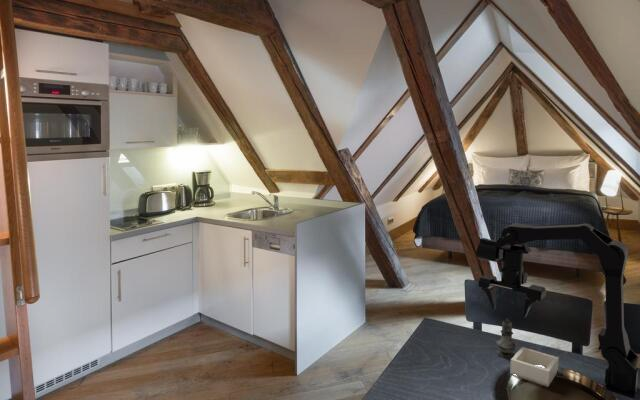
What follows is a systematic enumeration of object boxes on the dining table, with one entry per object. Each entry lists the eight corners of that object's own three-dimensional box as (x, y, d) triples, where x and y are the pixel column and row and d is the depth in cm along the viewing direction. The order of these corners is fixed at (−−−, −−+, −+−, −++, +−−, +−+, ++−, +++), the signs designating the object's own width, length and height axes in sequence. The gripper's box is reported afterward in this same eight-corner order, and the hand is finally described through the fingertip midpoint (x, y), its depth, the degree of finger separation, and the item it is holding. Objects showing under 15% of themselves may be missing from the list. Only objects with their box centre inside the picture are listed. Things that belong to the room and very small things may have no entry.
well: (557, 372, 124) (558, 357, 124) (548, 387, 117) (548, 371, 116) (521, 360, 131) (522, 346, 130) (510, 374, 124) (510, 359, 123)
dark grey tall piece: (492, 353, 136) (493, 317, 134) (502, 348, 139) (503, 312, 138) (509, 361, 131) (511, 323, 129) (519, 355, 135) (521, 318, 133)
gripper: (553, 265, 131) (549, 313, 133) (492, 253, 143) (489, 298, 146) (542, 273, 123) (538, 325, 125) (478, 261, 135) (475, 308, 138)
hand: (509, 313), depth 133 cm, fingers open, 9 cm apart
